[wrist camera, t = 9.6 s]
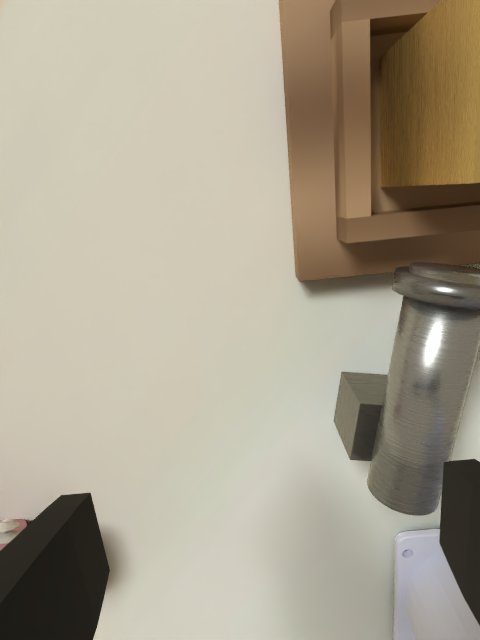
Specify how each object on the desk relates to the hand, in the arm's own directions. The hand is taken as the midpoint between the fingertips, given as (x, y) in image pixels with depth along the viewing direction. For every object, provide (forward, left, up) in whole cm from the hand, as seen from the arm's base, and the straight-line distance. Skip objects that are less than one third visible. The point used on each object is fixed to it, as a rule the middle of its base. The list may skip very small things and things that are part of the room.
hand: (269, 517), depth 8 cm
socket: (+8, -7, -9) cm, 14 cm away
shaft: (0, -6, -9) cm, 11 cm away
